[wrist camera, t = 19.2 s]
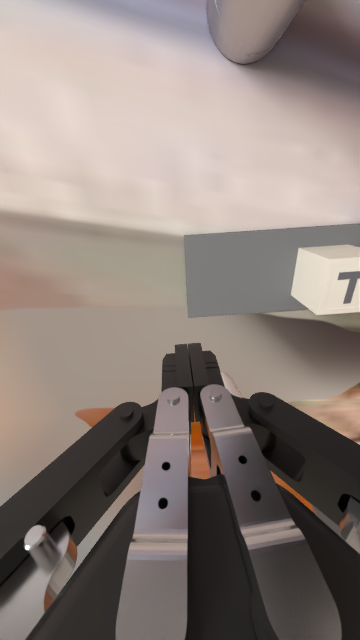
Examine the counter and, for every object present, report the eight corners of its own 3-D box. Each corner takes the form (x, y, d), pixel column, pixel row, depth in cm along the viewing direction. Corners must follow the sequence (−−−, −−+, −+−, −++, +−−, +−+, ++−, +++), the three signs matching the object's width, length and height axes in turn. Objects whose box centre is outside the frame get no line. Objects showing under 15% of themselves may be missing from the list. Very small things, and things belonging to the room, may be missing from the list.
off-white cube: (371, 311, 34) (336, 291, 41) (390, 254, 31) (348, 244, 38) (316, 315, 34) (290, 295, 41) (329, 259, 30) (298, 247, 38)
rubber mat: (188, 316, 43) (188, 317, 42) (184, 235, 36) (184, 235, 36) (340, 305, 43) (342, 306, 43) (363, 223, 37) (365, 223, 36)
